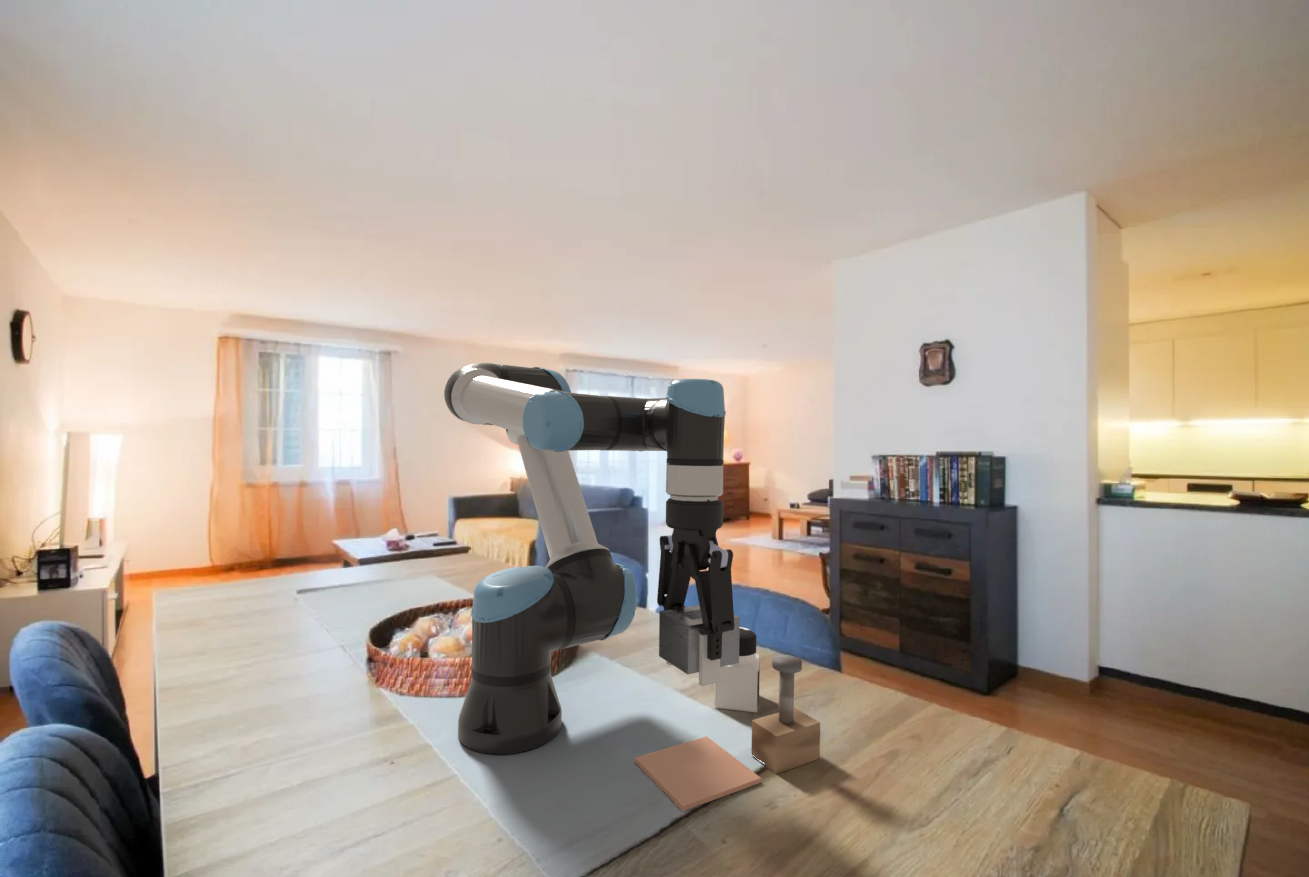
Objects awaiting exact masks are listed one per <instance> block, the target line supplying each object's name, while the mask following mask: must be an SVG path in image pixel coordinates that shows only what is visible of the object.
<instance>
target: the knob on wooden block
mask: <svg viewBox="0 0 1309 877" xmlns="http://www.w3.org/2000/svg"><path fill="white" fill-rule="evenodd" d="M802 661H803V660H802V659H800V658H799V657H796V656H793V655H788V654H778V655H775V656H773V657H772V665H771V667H772V669H774V670H775V671H777V672H779V684H778V685H779V686H778V712H775V713H773V714H768V715H765V716H762V717H758V718H755V719H753V720H751V753H750V754H752V755H754V756H755V757H756V758H757V759H759V760H761V761H762V762H764V763H765V765H766V769H768V770H769V771H771V772H772V773H774V774H775V775H778V774H780V773H783V772H785V771H789V770H792V769H793V768H798V767H800V766H803V765H805V764H808V763H811V762H813V761H816V760H819V759H820V755H821V722H820V721H819V720H816V718H813V717H812V716H809V715H808V714H806V713H804V712H803V711H801V710H800V709H797V708H796V707H794V706H795V704H794V703H795V674H796V673H799V672H801V671H802V669H803V667H802V666H803V662H802Z"/></svg>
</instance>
